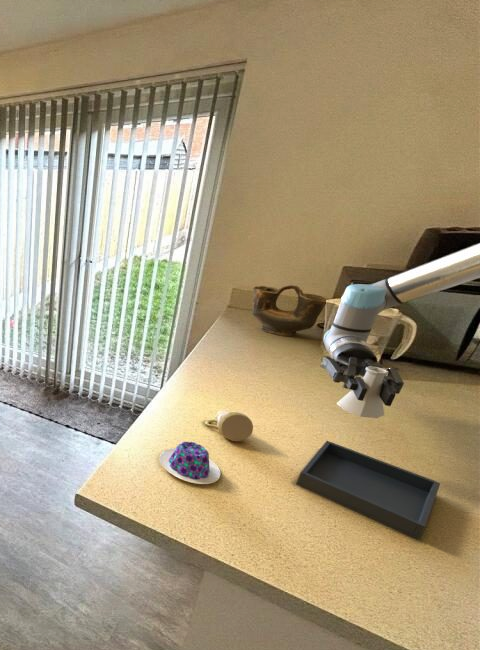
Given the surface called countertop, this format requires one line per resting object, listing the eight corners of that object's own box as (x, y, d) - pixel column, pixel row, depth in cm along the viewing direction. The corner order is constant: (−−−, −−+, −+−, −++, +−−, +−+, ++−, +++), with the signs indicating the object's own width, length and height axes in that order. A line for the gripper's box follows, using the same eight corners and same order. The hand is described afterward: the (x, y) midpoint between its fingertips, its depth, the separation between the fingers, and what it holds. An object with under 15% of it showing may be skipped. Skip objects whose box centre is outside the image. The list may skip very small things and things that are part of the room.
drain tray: (433, 495, 78) (440, 482, 77) (417, 540, 69) (425, 526, 67) (321, 452, 91) (326, 440, 90) (295, 484, 82) (300, 472, 81)
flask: (328, 402, 89) (344, 363, 85) (358, 401, 89) (375, 361, 85) (359, 420, 82) (378, 378, 78) (392, 418, 83) (412, 376, 79)
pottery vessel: (238, 327, 168) (250, 281, 160) (248, 321, 174) (260, 277, 167) (311, 343, 150) (329, 293, 142) (319, 337, 156) (336, 288, 148)
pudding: (169, 484, 83) (173, 464, 81) (152, 449, 94) (156, 430, 91) (230, 489, 81) (236, 469, 79) (205, 452, 92) (211, 434, 90)
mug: (233, 421, 104) (257, 403, 96) (233, 453, 98) (259, 437, 90) (204, 411, 105) (225, 392, 97) (203, 442, 100) (226, 425, 92)
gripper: (392, 377, 94) (426, 424, 76) (305, 363, 103) (317, 402, 85) (405, 349, 91) (444, 391, 74) (314, 336, 100) (329, 371, 82)
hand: (376, 397), depth 79 cm, fingers closed on flask, 3 cm apart
